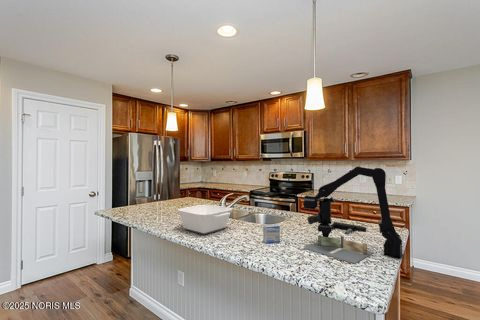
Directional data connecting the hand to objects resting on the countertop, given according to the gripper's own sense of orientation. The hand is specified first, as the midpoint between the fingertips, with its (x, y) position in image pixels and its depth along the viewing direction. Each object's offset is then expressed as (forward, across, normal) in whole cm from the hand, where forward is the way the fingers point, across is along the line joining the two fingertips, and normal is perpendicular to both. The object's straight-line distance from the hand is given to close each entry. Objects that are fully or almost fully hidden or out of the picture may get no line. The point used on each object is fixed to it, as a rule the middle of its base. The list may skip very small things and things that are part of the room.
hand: (324, 241), depth 129 cm
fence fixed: (+2, +5, +13) cm, 14 cm away
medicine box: (+2, +4, -26) cm, 27 cm away
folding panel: (+1, +2, +2) cm, 3 cm away
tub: (+3, -6, -70) cm, 71 cm away
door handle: (+3, -34, +12) cm, 36 cm away
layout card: (+2, +6, +6) cm, 9 cm away
